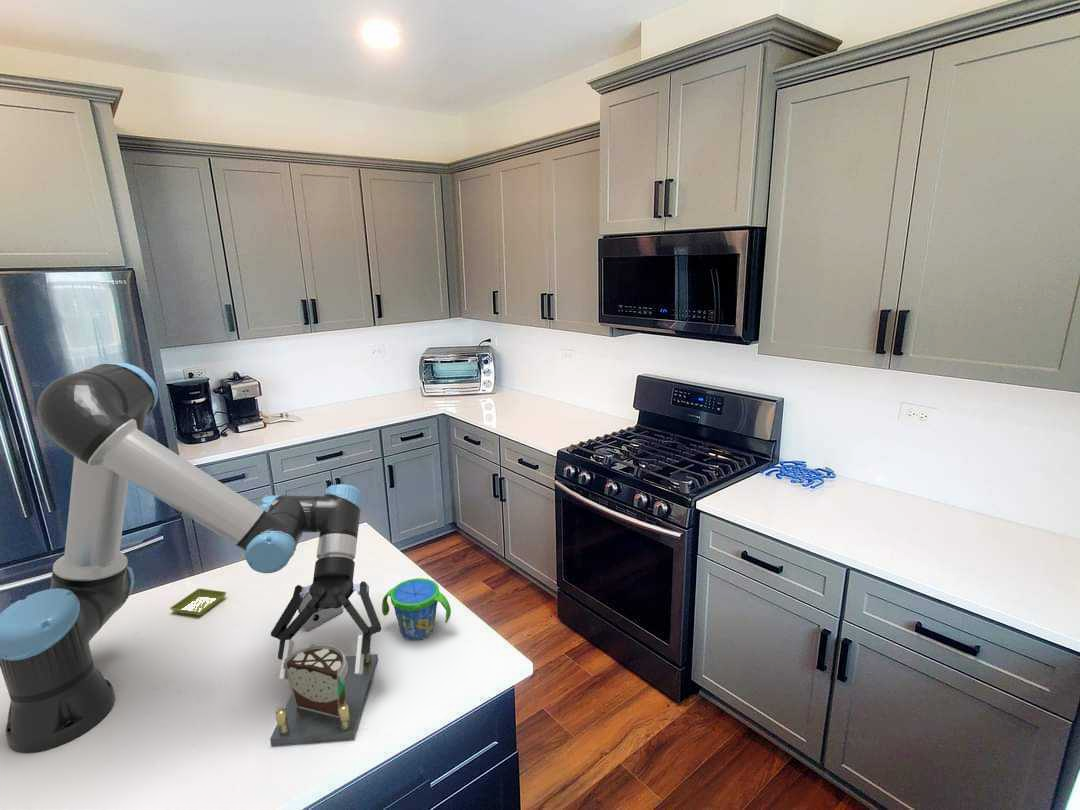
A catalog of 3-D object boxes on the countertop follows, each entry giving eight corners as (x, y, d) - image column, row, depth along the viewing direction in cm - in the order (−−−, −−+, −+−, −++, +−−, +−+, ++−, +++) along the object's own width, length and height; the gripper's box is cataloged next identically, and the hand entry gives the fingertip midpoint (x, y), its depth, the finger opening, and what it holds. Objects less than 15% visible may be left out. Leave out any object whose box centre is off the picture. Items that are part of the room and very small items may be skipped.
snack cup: (459, 622, 127) (457, 583, 125) (438, 652, 117) (434, 610, 115) (400, 611, 132) (396, 573, 129) (374, 639, 122) (370, 598, 120)
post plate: (271, 746, 95) (266, 719, 94) (309, 664, 114) (306, 642, 113) (354, 739, 96) (350, 713, 95) (378, 660, 115) (375, 637, 114)
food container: (366, 694, 104) (361, 649, 102) (346, 720, 98) (339, 672, 96) (312, 681, 108) (305, 637, 105) (289, 705, 102) (281, 659, 100)
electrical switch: (307, 632, 125) (299, 595, 123) (295, 626, 128) (288, 589, 126) (344, 612, 132) (337, 576, 130) (332, 606, 135) (326, 571, 133)
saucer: (170, 615, 133) (168, 608, 132) (200, 595, 141) (198, 587, 140) (200, 620, 130) (198, 612, 130) (228, 599, 139) (227, 591, 138)
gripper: (400, 561, 116) (393, 673, 105) (279, 568, 114) (260, 682, 104) (394, 551, 110) (385, 669, 99) (265, 558, 108) (243, 679, 97)
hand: (321, 676), depth 101 cm, fingers open, 13 cm apart
